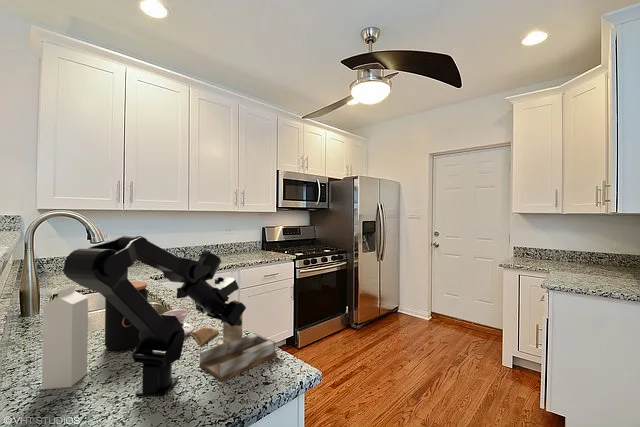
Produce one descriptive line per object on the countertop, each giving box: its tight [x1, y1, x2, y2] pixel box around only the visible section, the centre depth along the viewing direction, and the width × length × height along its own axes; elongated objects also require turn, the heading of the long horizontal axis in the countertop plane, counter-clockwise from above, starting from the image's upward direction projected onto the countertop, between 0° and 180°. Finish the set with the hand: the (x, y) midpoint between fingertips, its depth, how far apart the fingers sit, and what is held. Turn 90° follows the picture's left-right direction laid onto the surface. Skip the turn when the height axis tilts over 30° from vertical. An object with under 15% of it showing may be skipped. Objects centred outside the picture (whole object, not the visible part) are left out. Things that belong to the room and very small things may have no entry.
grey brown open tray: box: [199, 332, 278, 382], centre depth 81 cm, size 17×11×4 cm, turn 139°
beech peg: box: [216, 300, 244, 346], centre depth 90 cm, size 6×6×13 cm
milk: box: [41, 284, 89, 390], centre depth 70 cm, size 6×6×22 cm
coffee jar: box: [104, 281, 148, 353], centre depth 90 cm, size 11×11×18 cm
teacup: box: [162, 309, 195, 336], centre depth 101 cm, size 12×12×6 cm
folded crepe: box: [191, 327, 220, 347], centre depth 96 cm, size 11×8×2 cm
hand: (236, 322), depth 91 cm, fingers closed on beech peg, 4 cm apart
